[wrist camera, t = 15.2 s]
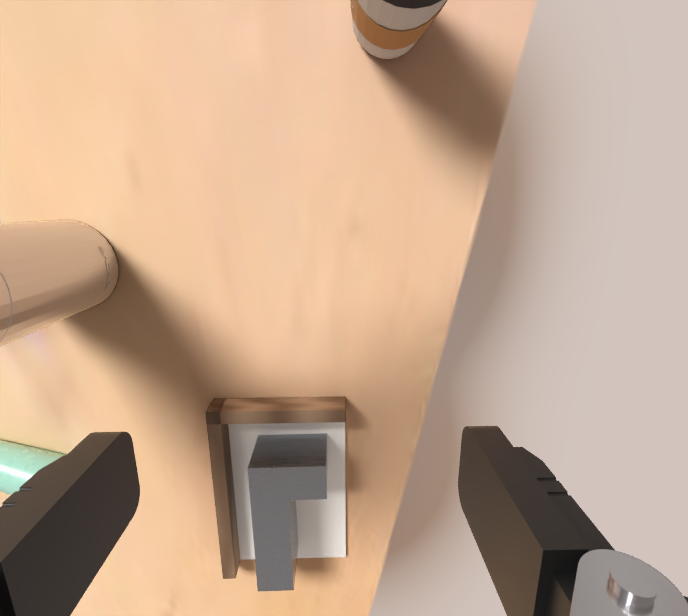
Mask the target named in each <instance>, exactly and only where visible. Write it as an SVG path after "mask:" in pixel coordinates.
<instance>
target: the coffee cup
mask: <svg viewBox="0 0 688 616" xmlns="http://www.w3.org/2000/svg"><path fill="white" fill-rule="evenodd" d="M446 2H447V0H351V11H352V20H353V28H354V32H355V35H356V37H357V40H358V41H359V43H360V44H361V46H362V47H363V48H364V49H365V50H366V51H367V52H368V53H370V54H371V55H373V56H375V57H378V58H382V59H392V58H397V57H399V56H401V55H403V54H405V53H407V52H408V51H409V50H410V49H411V48H412V47H413V46H414V45H415V43H416V42H417V41H418V39H419V38H420V37H422V35H423V34H424V33H425V31H426V30H427V28H428V27H429V26H430V24H431V23H432V22H433V20H434V19H435V18H436V16H437V15H438V13H439V12H440V11H441V9H442V8H443V6H444V5H445V3H446Z"/></svg>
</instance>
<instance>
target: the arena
mask: <svg viewBox="0 0 688 616" xmlns="http://www.w3.org/2000/svg"><path fill="white" fill-rule="evenodd" d="M206 420H207V430H208V439H209V449H210V458H211V468H212V478H213V487H214V497H215V506H216V516H217V525H218V535H219V544H220V554H221V563H222V573H223V579H229V578H236V575H237V571H238V567H239V563H240V550H239V539H238V528H237V516H236V505H235V494H234V483H233V472H232V460H231V449H230V438H229V427H228V424H272V423H328V422H346V405H345V397H293V398H232V399H213V401H212V403H211V404H210V406H209V408H208V409H207V411H206Z"/></svg>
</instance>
